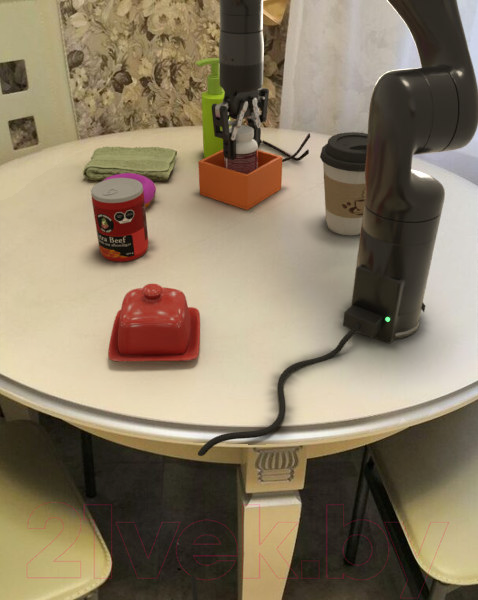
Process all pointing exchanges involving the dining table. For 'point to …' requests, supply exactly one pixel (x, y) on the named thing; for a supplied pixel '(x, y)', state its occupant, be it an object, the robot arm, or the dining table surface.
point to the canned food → (120, 218)
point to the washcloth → (131, 162)
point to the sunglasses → (284, 151)
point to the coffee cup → (345, 181)
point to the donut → (147, 184)
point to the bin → (240, 180)
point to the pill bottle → (244, 151)
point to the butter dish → (155, 327)
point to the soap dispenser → (208, 99)
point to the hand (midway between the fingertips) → (241, 152)
